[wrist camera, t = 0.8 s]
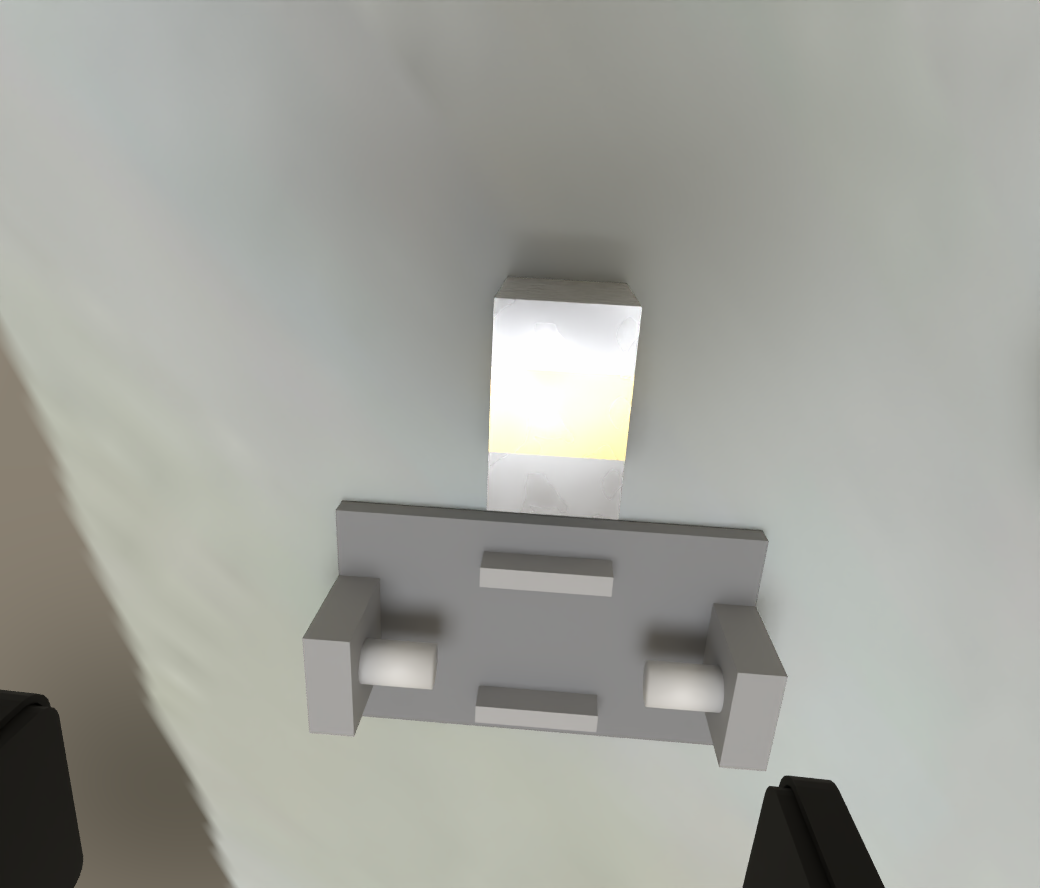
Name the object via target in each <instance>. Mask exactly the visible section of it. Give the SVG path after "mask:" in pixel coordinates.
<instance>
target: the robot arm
mask: <svg viewBox="0 0 1040 888" xmlns="http://www.w3.org/2000/svg"><path fill="white" fill-rule="evenodd" d="M82 865H83V854H82V847H81V842H80V836H79V830H78V824H77V818H76V812H75V807H74V801H73V795H72V789H71V783H70V777H69V772H68V765H67V760H66V754H65V748H64V742H63V736H62V730H61V724H60V718H59V714H58V712H57V710H55V708H52V707H51V706H50V703H49V701H48V699H47V698H46V697H45V696H44V695H40V694H34V693H25V692H16V691H7V690H0V888H74V886H75V884H76V883H77V880H78V878H79V876H80V873H81V870H82ZM743 888H885V887H884V885H883V883H882V881H881V879H880V877H879V874H878V872H877V870H876V868H875V866H874V864H873V862H872V859H871V857H870V855H869V853H868V851H867V849H866V847H865V845H864V842H863V840H862V838H861V836H860V834H859V832H858V830H857V828H856V825H855V823H854V821H853V819H852V817H851V815H850V813H849V811H848V808H847V806H846V804H845V802H844V800H843V798H842V796H841V794H840V791H839V790H838V788H837V786H836V785H835V783H833V782H832V781H831V780H824V779H814V778H805V777H796V776H784V777H783V778H782V779H781V782H780V785H779V787H774V786H769V787H768V788H767V790H766V792H765V796H764V800H763V804H762V808H761V813H760V817H759V821H758V825H757V829H756V834H755V838H754V842H753V846H752V850H751V854H750V859H749V863H748V867H747V871H746V875H745V880H744V884H743Z"/></svg>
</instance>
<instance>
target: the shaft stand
mask: <svg viewBox="0 0 1040 888" xmlns="http://www.w3.org/2000/svg"><path fill="white" fill-rule="evenodd" d="M336 527H337V547H338V567H339V576H338V578H337V579H336V581H335V583H334V585H333V586H332V588H331V590H330V592H329V593H328V595H327V597H326V598H325V600H324V602H323V604H322V605H321V607H320V609H319V611H318V612H317V614H316V616H315V618H314V619H313V621H312V623H311V624H310V626H309V628H308V630H307V631H306V633H305V635H304V637H303V638H302V640H303V654H304V667H305V680H306V694H307V707H308V721H309V733H317V734H329V735H341V736H353V737H354V735H355V733H356V730H357V727H358V725H359V722H360V720H361V717H362V716H367V717H379V718H391V719H403V720H415V721H427V722H439V723H451V724H463V725H475V726H487V727H499V728H511V729H524V730H536V731H548V732H560V733H572V734H584V735H596V736H608V737H620V738H632V739H644V740H656V741H668V742H681V743H693V744H705V745H714V749H715V753H716V757H717V760H718V764H719V767H722V768H734V769H746V770H758V771H766V769H767V765H768V761H769V756H770V752H771V747H772V743H773V739H774V734H775V730H776V726H777V721H778V717H779V712H780V708H781V704H782V699H783V695H784V691H785V686H786V682H787V677H788V676H787V674H786V672H785V670H784V668H783V665H782V663H781V661H780V659H779V657H778V655H777V652H776V650H775V648H774V646H773V644H772V641H771V639H770V637H769V635H768V633H767V630H766V628H765V626H764V624H763V622H762V620H761V617H760V615H759V613H758V611H757V609H756V602H757V597H758V592H759V587H760V582H761V577H762V572H763V567H764V562H765V557H766V552H767V547H768V542H769V541H768V539H767V538H766V536H765V534H764V532H763V531H757V530H743V529H729V528H715V527H701V526H687V525H672V524H658V523H644V522H630V521H616V520H602V519H588V518H574V517H560V516H546V515H531V514H517V513H503V512H489V511H475V510H461V509H447V508H433V507H419V506H405V505H390V504H376V503H362V502H348V501H342V502H341V503H340V505H339V506H338V508H337V509H336Z"/></svg>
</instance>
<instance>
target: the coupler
mask: <svg viewBox="0 0 1040 888" xmlns="http://www.w3.org/2000/svg"><path fill="white" fill-rule="evenodd" d="M641 311H642V306H641V304H640V303H639V301H638V300H637V298H636V297H635V295H634V294H633V292H632V291H631V289H630V288H629V286H628V285H627V283H613V282H596V281H579V280H561V279H544V278H527V277H510V276H507V278H506V280H505V281H504V283H503V284H502V286H501V288H500V289H499V291H498V293H497V294H496V296H495V297H494V316H493V344H492V372H491V400H490V428H489V456H488V484H487V510H490V511H504V512H518V513H532V514H546V515H560V516H574V517H589V518H603V519H617V520H618V518H619V509H620V500H621V491H622V482H623V473H624V464H625V455H626V446H627V437H628V428H629V419H630V410H631V401H632V392H633V383H634V374H635V365H636V356H637V347H638V338H639V329H640V320H641Z"/></svg>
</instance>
